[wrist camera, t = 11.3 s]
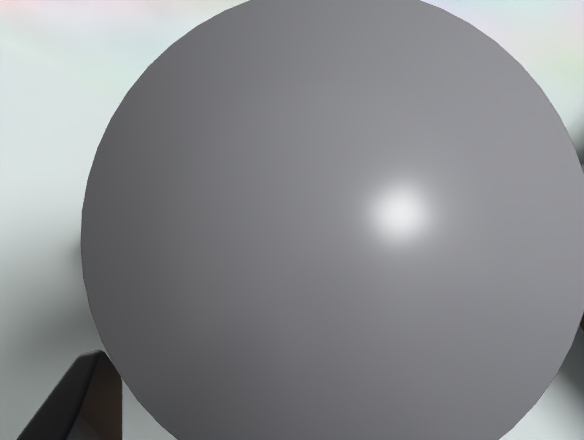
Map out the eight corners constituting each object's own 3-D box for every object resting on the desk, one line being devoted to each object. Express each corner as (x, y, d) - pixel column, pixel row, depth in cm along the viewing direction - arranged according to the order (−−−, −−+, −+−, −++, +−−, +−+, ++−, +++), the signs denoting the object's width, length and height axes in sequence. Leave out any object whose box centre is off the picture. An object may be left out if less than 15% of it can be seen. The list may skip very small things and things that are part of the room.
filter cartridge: (345, 355, 17) (461, 596, 5) (215, 288, 17) (-11, 343, 5) (408, 223, 17) (674, 113, 5) (280, 161, 18) (223, -90, 5)
